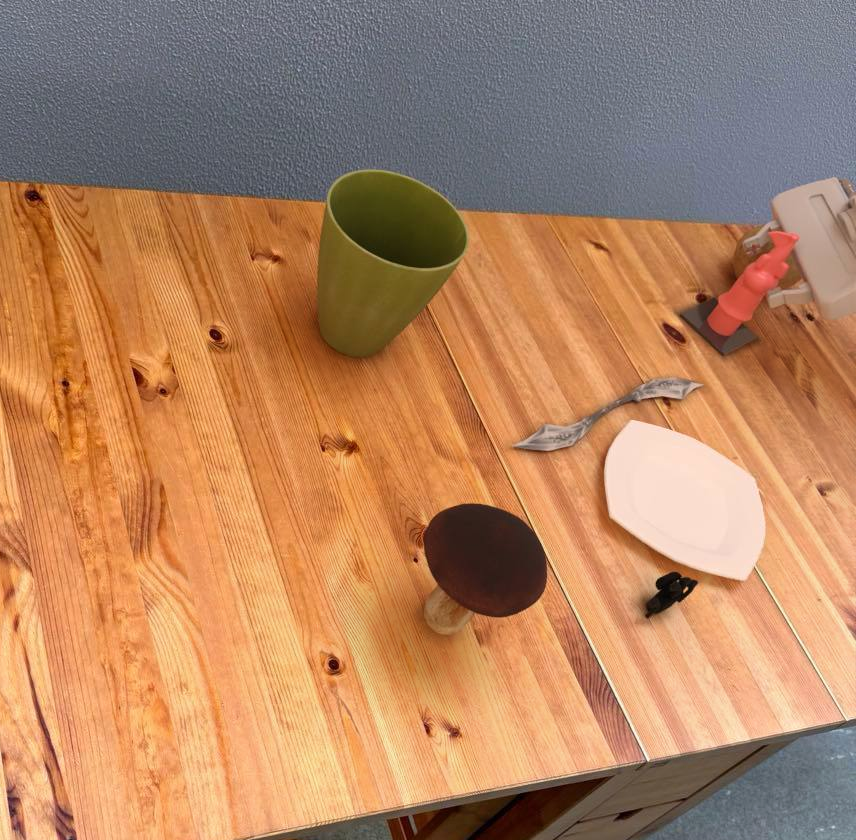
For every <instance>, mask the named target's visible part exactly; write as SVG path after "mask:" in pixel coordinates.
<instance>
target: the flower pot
mask: <svg viewBox="0 0 856 840" xmlns="http://www.w3.org/2000/svg"><path fill="white" fill-rule="evenodd" d="M324 206H325V207H324V212H323V216H322V223H321V229H320V237H319V245H318V257H317V272H316V273H317V274H316V279H317V280H316V294H317V296H316V298H317V300H316V301H317V315H318V327H319V332H320V334H321V337H322V338H323V340H324V341H325V343H326V344H328V345H329V347H331V348H332V349H334V351H336V352H338V353H340V354H343V355H345V356H348V357H352V358H358V359H359V358H360V359H361V358H369V357H372V356H374V355H376V354H377V353H378V352H381V350H383V349H384V348H385V347H386V346H387V345H388V344H390V343H391V342H392V341H393V340H394V339H395V338H397V336H399V335H400V334H401V333H402V332H403V331H404V330H406V328H407V327H408V326H409V325H410V324H411V323H412V322H413V321H414V320H415V319H416V318H417V317H418V316H419V315H420V314H421V313H422V311H424V310H425V308H426V307H427V306H428V305H429V304H430V303H431V302H432V300H433V299H434V298H435V296H436V295H438V293H439V292H440V290H441V289H442V288H443V287H444V285H445V284H446V283H447V281H448V280H449V278H450V277H451V276H452V274H453V273H454V272H455V270H456V269H457V267H458V266H459V264H460V262H461V261H462V260H463V258H464V256H466V254H467V252H468V249H469V245H470V234H469V229H468V226H467V223H466V221H465V220H464V217H462V214H461V213H460V211H459V210H458V209H457V208H456V207H455V206H454V205H453V204H452V202H450V201H449V200H448V199H447V198H446V197H445V196H444V195H443V194H441V193H440V192H438V191H437V190H436V189H434V188H432V187H431V186H429V185H427V184H426V183H424V182H422V181H420V180H418V179H415V178H413V177H411V176H407V175H405V174H402V173H398V172H394V171H390V170H384V169H372V168H371V169H359V170H355V171H351V172H348V173H345V174H343V175H342V176H340V177H338V178H337V179H336V180H335V181H334V182H333V183H331V186H330V187H329V189H328V192H327V196H326V200H325V205H324Z"/></svg>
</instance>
